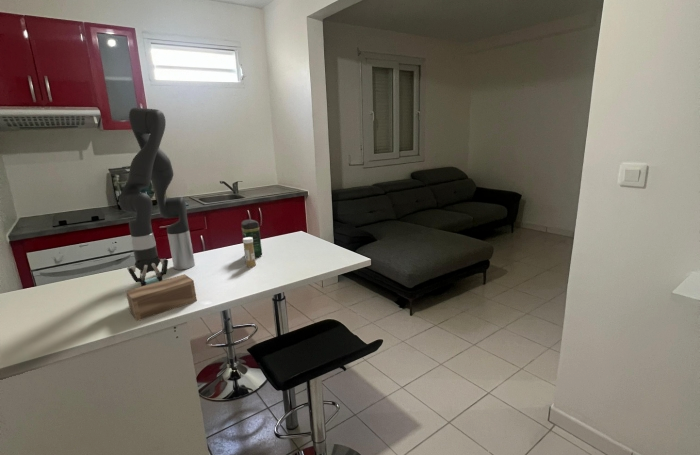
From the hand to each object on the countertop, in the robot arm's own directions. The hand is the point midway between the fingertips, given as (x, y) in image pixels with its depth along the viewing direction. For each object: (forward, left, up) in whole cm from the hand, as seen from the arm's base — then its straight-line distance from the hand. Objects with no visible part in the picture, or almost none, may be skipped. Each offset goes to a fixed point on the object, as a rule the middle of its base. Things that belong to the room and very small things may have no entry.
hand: (152, 288), depth 136 cm
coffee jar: (-14, +50, -4) cm, 52 cm away
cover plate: (+5, 0, -2) cm, 6 cm away
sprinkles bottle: (-2, +42, -4) cm, 42 cm away
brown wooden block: (+11, 0, -4) cm, 12 cm away
